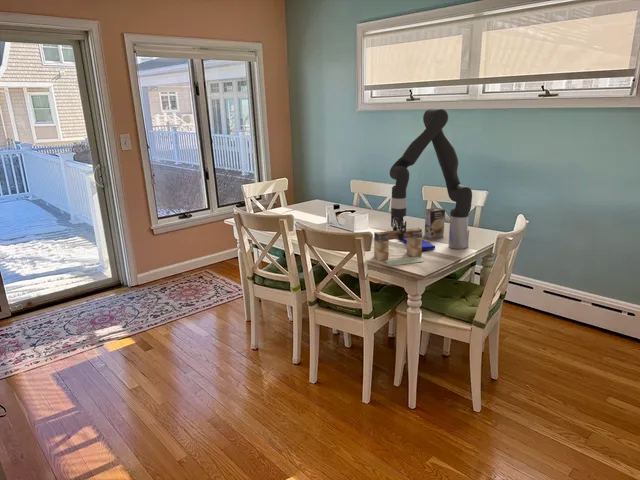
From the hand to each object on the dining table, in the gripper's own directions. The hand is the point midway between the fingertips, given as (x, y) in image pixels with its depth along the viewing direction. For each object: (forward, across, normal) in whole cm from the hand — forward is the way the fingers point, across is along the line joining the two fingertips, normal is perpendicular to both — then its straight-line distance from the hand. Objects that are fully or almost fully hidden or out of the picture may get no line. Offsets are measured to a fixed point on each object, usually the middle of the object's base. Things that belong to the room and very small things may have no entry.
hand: (398, 238), depth 224 cm
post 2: (+10, 0, -9) cm, 13 cm away
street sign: (+11, +21, -17) cm, 29 cm away
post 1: (+10, 0, +9) cm, 13 cm away
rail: (0, 0, 0) cm, 0 cm away
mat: (+10, -8, 0) cm, 13 cm away
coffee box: (+10, +25, -33) cm, 43 cm away
